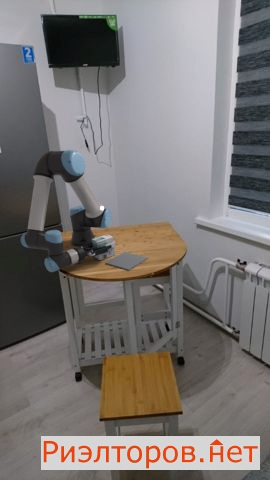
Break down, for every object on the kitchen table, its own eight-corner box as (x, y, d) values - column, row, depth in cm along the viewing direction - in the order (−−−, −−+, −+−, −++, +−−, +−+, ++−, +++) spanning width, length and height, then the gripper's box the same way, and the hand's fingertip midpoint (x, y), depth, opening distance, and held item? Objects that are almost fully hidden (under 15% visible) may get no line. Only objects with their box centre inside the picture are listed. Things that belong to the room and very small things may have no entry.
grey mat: (105, 263, 148) (105, 262, 148) (124, 252, 160) (124, 251, 159) (129, 270, 139) (129, 269, 138) (147, 258, 150) (147, 257, 150)
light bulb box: (99, 260, 152) (97, 242, 148) (93, 257, 157) (90, 238, 153) (115, 254, 158) (114, 236, 154) (109, 251, 163) (107, 233, 159)
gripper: (66, 257, 152) (100, 244, 166) (87, 267, 138) (122, 253, 152) (64, 244, 149) (99, 232, 163) (85, 253, 135) (121, 240, 149)
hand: (110, 242), depth 158 cm, fingers closed on light bulb box, 7 cm apart
